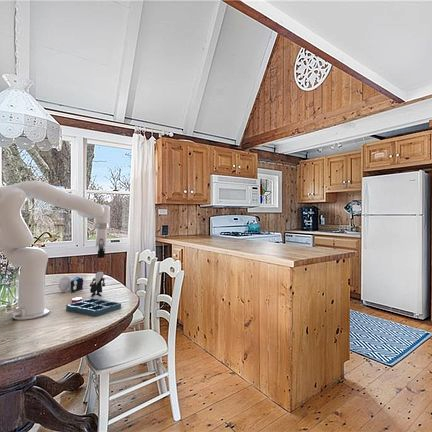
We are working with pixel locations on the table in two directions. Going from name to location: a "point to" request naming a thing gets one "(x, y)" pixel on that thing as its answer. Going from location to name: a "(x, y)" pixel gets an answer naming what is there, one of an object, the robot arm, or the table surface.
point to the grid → (93, 307)
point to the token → (76, 300)
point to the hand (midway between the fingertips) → (101, 256)
